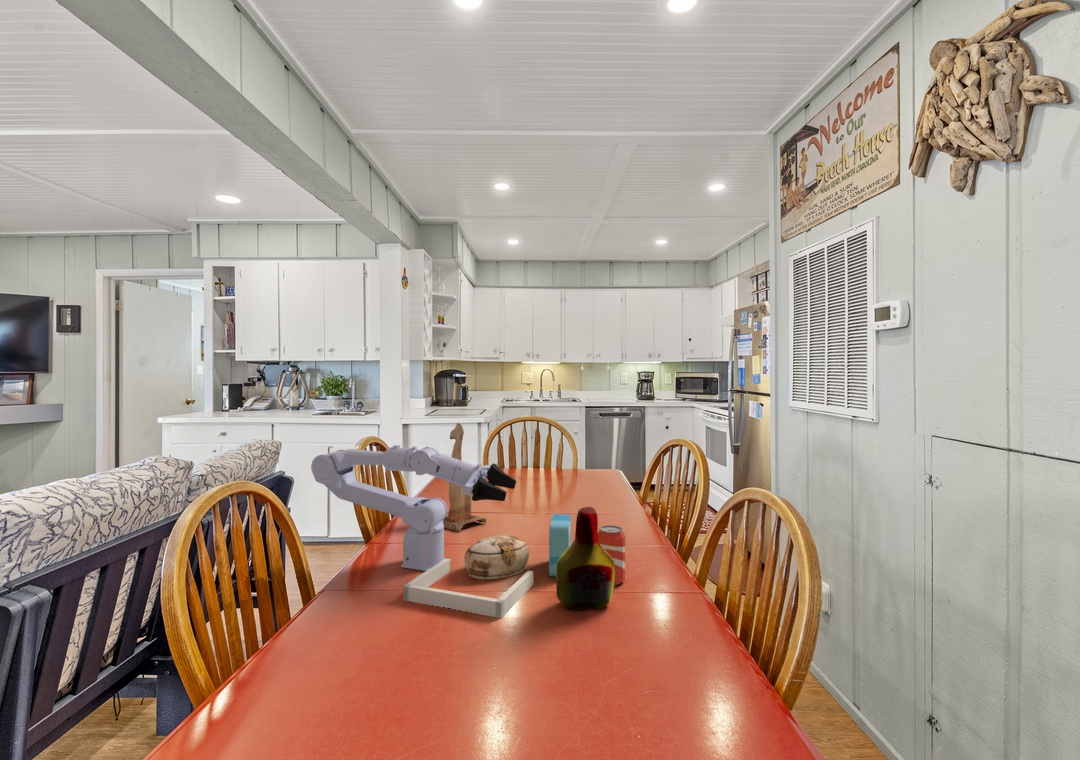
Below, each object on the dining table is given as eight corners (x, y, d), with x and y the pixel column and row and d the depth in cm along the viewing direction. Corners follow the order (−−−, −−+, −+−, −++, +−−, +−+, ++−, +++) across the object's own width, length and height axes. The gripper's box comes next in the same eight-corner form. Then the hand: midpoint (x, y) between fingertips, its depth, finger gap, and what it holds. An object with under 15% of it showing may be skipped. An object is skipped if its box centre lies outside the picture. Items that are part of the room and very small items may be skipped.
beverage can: (627, 578, 119) (627, 526, 119) (619, 589, 114) (619, 534, 113) (602, 574, 122) (602, 523, 122) (593, 584, 116) (593, 530, 116)
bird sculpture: (460, 519, 169) (457, 420, 168) (487, 524, 162) (484, 421, 162) (434, 527, 160) (431, 423, 159) (462, 533, 153) (458, 424, 153)
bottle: (612, 599, 109) (612, 503, 108) (617, 613, 102) (617, 512, 102) (555, 599, 109) (555, 504, 108) (556, 613, 102) (556, 512, 102)
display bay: (403, 600, 108) (403, 585, 108) (445, 571, 124) (445, 558, 124) (501, 618, 100) (501, 602, 100) (533, 584, 116) (533, 571, 116)
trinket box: (456, 578, 120) (456, 544, 120) (487, 556, 134) (487, 526, 134) (509, 587, 115) (509, 551, 115) (535, 563, 129) (535, 532, 129)
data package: (568, 579, 119) (568, 527, 119) (549, 578, 119) (549, 526, 119) (571, 560, 131) (571, 513, 131) (553, 559, 131) (553, 512, 131)
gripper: (449, 467, 118) (504, 486, 115) (472, 448, 132) (522, 465, 129) (443, 495, 119) (497, 514, 117) (467, 473, 133) (516, 490, 131)
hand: (510, 490), depth 123 cm, fingers open, 7 cm apart
